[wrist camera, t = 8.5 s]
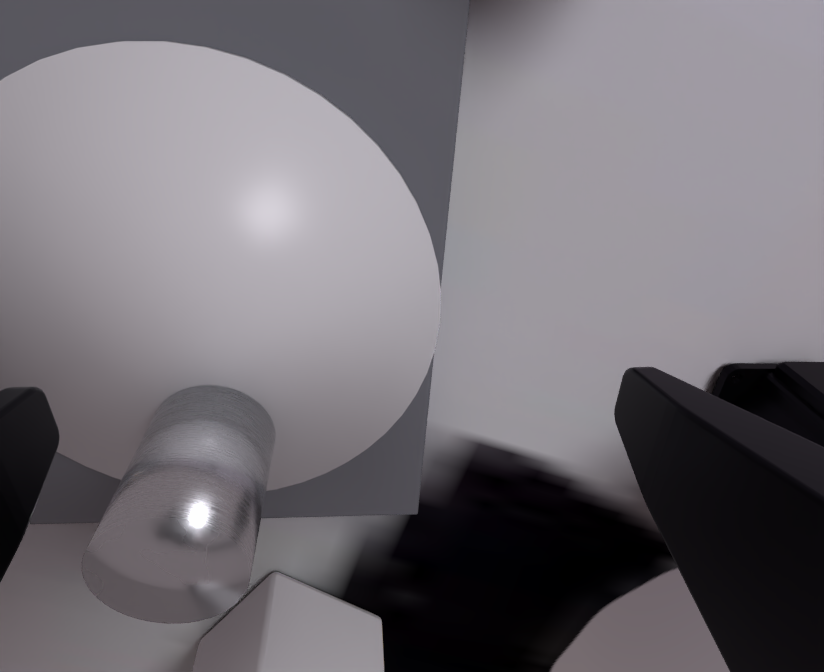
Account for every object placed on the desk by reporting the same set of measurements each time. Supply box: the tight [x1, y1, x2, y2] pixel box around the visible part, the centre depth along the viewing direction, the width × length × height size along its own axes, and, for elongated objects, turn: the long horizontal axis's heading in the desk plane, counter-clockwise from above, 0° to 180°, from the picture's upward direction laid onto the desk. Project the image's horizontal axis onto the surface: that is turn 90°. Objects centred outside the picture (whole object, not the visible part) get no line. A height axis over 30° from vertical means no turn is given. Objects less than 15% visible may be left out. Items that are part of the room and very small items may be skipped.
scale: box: [0, 0, 470, 524], centre depth 18 cm, size 20×20×3 cm
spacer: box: [82, 385, 276, 623], centre depth 18 cm, size 4×4×6 cm
